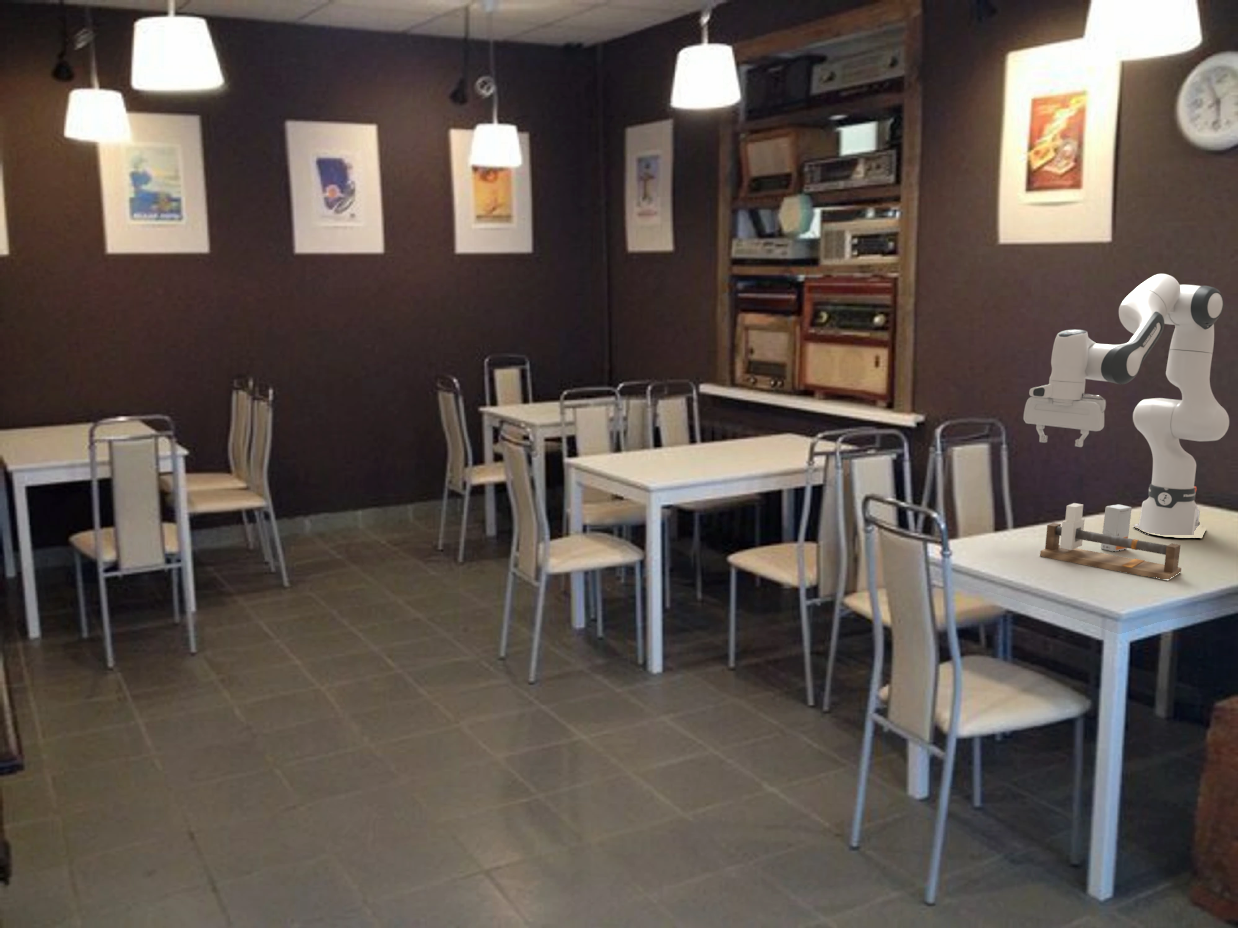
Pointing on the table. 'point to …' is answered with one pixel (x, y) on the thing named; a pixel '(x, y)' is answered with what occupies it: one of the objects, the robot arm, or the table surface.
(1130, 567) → the pipe stand
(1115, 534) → the skincare box
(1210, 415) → the robot arm
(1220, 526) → the table surface
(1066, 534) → the collar
